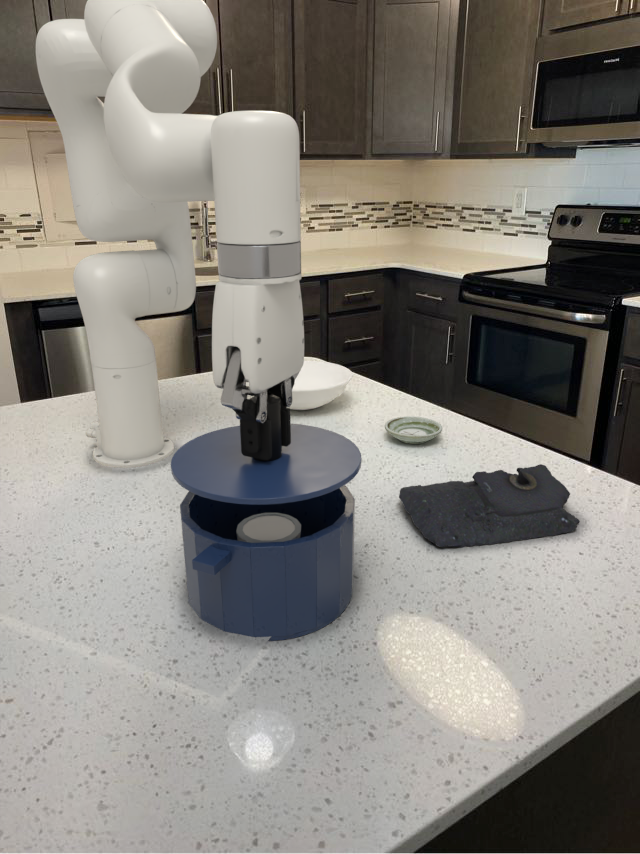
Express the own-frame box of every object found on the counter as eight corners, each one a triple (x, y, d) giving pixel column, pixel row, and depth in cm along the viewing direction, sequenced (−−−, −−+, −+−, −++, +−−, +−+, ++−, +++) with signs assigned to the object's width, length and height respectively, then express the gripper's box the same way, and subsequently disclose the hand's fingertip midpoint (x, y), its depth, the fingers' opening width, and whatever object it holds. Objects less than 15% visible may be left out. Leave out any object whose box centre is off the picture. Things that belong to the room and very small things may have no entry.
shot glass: (294, 606, 68) (292, 547, 66) (230, 598, 70) (227, 540, 67) (308, 569, 75) (307, 514, 72) (250, 562, 76) (247, 508, 74)
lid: (130, 486, 63) (122, 414, 60) (238, 422, 79) (235, 364, 76) (308, 529, 55) (307, 449, 53) (388, 449, 71) (391, 385, 69)
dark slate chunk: (386, 497, 92) (387, 466, 91) (527, 479, 97) (530, 449, 96) (430, 554, 78) (432, 518, 77) (592, 530, 84) (597, 496, 82)
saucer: (448, 434, 114) (449, 420, 114) (430, 453, 106) (431, 439, 106) (396, 424, 119) (397, 412, 118) (375, 443, 111) (375, 429, 110)
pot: (135, 625, 66) (124, 534, 63) (256, 522, 86) (253, 447, 82) (292, 681, 59) (290, 581, 55) (385, 555, 78) (388, 474, 75)
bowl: (305, 383, 142) (305, 354, 140) (373, 406, 128) (374, 374, 126) (229, 404, 129) (228, 373, 127) (295, 431, 116) (295, 397, 113)
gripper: (269, 251, 68) (274, 419, 75) (169, 271, 55) (186, 474, 61) (335, 255, 65) (334, 429, 72) (246, 277, 51) (256, 490, 58)
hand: (266, 448), depth 66 cm, fingers closed on lid, 3 cm apart
